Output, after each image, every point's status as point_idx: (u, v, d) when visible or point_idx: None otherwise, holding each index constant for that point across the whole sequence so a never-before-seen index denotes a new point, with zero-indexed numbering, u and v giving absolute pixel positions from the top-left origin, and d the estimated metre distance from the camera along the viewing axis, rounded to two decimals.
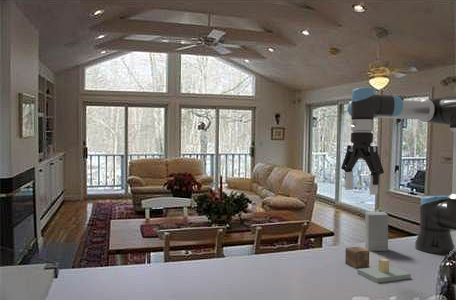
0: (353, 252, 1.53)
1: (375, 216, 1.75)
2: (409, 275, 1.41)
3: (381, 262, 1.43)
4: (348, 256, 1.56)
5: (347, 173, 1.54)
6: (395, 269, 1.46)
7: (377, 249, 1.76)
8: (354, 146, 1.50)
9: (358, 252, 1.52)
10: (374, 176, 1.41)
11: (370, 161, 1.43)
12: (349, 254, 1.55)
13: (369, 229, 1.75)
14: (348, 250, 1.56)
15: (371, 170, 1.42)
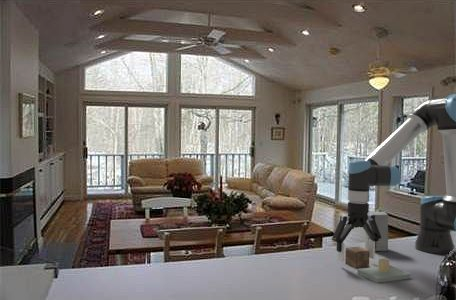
0: (353, 252, 1.53)
1: (375, 216, 1.75)
2: (409, 275, 1.41)
3: (381, 262, 1.43)
4: (348, 256, 1.56)
5: (369, 241, 1.59)
6: (395, 269, 1.46)
7: (377, 249, 1.76)
8: None
9: (358, 252, 1.52)
10: None
11: (345, 229, 1.54)
12: (349, 254, 1.55)
13: None
14: (348, 250, 1.56)
15: None
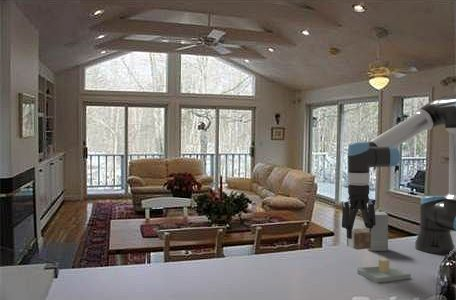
0: (354, 234, 1.53)
1: (375, 216, 1.75)
2: (409, 275, 1.41)
3: (381, 262, 1.43)
4: None
5: (363, 228, 1.57)
6: (395, 269, 1.46)
7: (377, 249, 1.76)
8: None
9: (359, 233, 1.52)
10: None
11: (350, 215, 1.54)
12: None
13: None
14: None
15: None
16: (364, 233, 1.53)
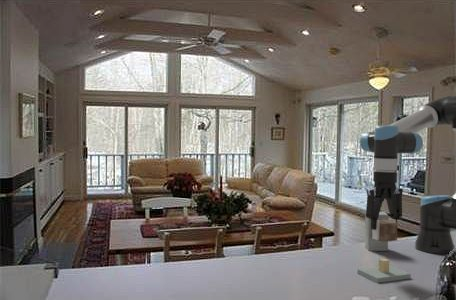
0: (380, 224, 1.41)
1: None
2: (409, 275, 1.41)
3: (381, 262, 1.43)
4: None
5: (389, 219, 1.46)
6: (395, 269, 1.46)
7: (377, 249, 1.76)
8: None
9: (385, 224, 1.40)
10: None
11: (375, 204, 1.42)
12: None
13: (369, 229, 1.75)
14: None
15: None
16: (390, 224, 1.41)
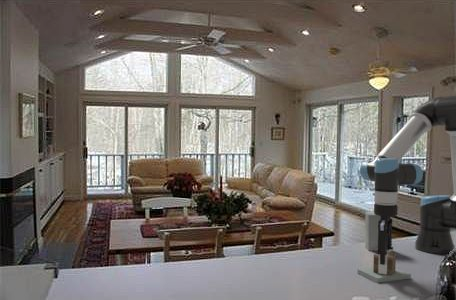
0: (388, 258, 1.40)
1: (375, 216, 1.75)
2: (409, 275, 1.41)
3: None
4: None
5: None
6: (395, 269, 1.46)
7: (377, 249, 1.76)
8: None
9: (393, 257, 1.40)
10: (380, 255, 1.40)
11: None
12: None
13: (369, 229, 1.75)
14: None
15: None
16: (394, 256, 1.42)
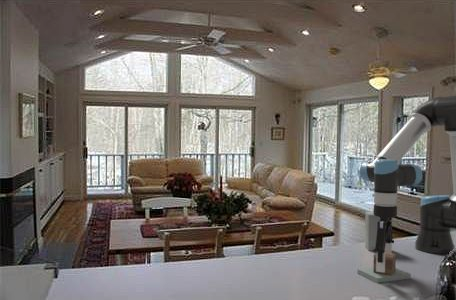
0: (388, 258, 1.40)
1: (375, 216, 1.75)
2: (409, 275, 1.41)
3: None
4: None
5: (384, 244, 1.50)
6: (395, 269, 1.46)
7: None
8: None
9: (393, 257, 1.40)
10: (378, 253, 1.37)
11: None
12: None
13: (369, 229, 1.75)
14: None
15: None
16: (394, 256, 1.42)
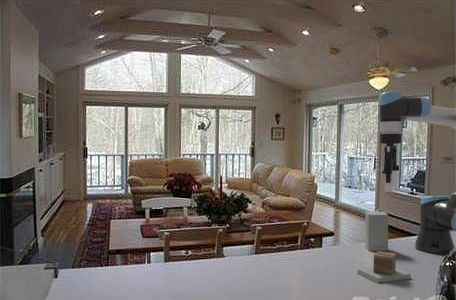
0: (388, 258, 1.40)
1: (375, 216, 1.75)
2: (409, 275, 1.41)
3: None
4: (379, 263, 1.41)
5: None
6: (395, 269, 1.46)
7: (377, 249, 1.76)
8: None
9: (393, 257, 1.40)
10: (386, 174, 1.51)
11: None
12: (381, 261, 1.41)
13: (369, 229, 1.75)
14: (379, 257, 1.41)
15: None
16: (394, 256, 1.42)
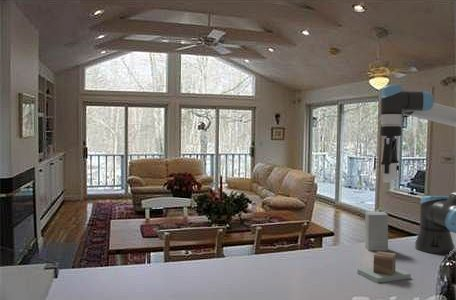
0: (388, 258, 1.40)
1: (375, 216, 1.75)
2: (409, 275, 1.41)
3: None
4: (379, 263, 1.41)
5: (389, 164, 1.68)
6: (395, 269, 1.46)
7: (377, 249, 1.76)
8: None
9: (393, 257, 1.40)
10: (384, 165, 1.56)
11: None
12: (381, 261, 1.41)
13: (369, 229, 1.75)
14: (379, 257, 1.41)
15: None
16: (394, 256, 1.42)
